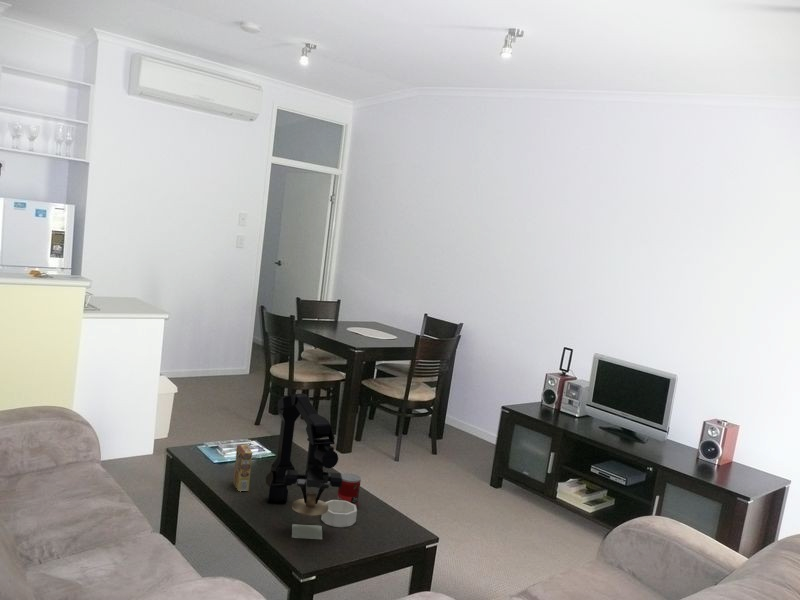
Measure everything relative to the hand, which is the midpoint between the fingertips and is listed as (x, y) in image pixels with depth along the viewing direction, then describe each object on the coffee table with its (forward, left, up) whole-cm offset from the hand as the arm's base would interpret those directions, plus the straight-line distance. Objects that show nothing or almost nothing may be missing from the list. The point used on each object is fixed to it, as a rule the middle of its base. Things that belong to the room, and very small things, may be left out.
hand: (310, 503), depth 227 cm
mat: (0, 0, -10) cm, 10 cm away
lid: (0, 0, -2) cm, 2 cm away
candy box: (-25, +35, -11) cm, 44 cm away
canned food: (+15, +25, -11) cm, 31 cm away
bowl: (+11, +11, -10) cm, 19 cm away
